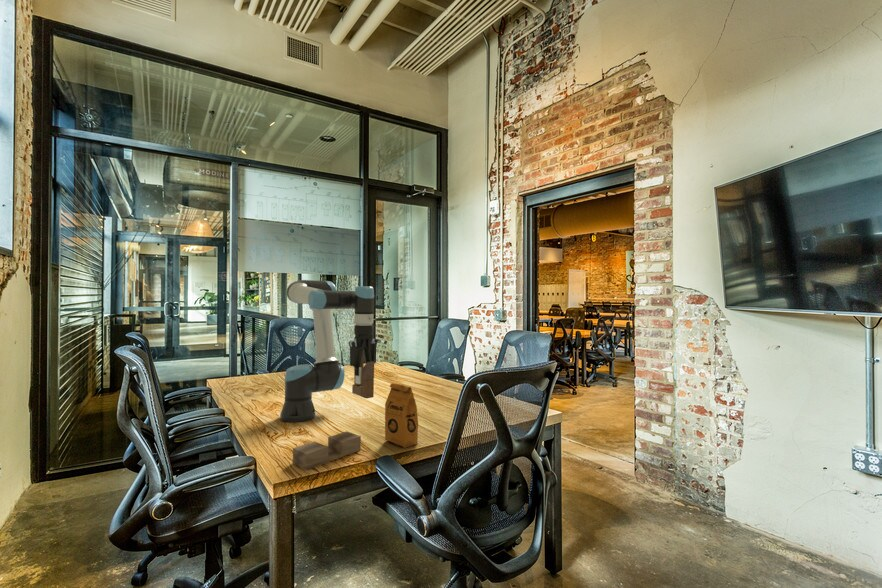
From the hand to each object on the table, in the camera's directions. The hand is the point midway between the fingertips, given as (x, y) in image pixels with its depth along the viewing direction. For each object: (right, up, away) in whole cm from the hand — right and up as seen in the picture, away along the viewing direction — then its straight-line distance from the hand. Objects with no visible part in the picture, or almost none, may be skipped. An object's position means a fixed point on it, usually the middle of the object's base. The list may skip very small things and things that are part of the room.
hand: (362, 382), depth 161 cm
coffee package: (+17, -21, -9) cm, 28 cm away
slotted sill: (-8, -21, -23) cm, 31 cm away
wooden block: (0, -5, 0) cm, 5 cm away
